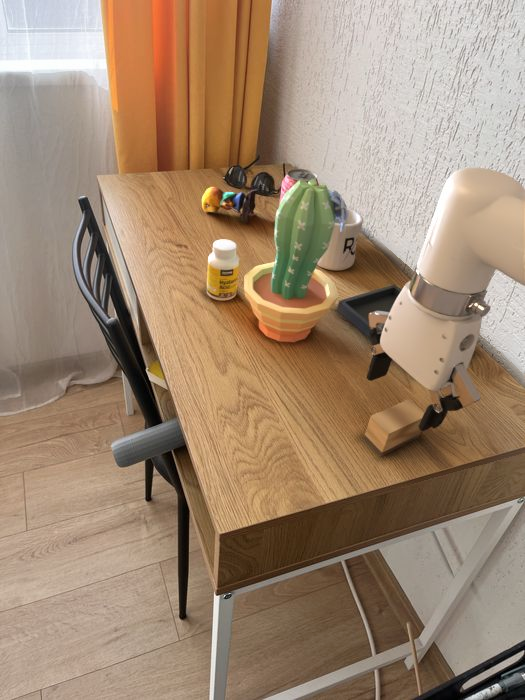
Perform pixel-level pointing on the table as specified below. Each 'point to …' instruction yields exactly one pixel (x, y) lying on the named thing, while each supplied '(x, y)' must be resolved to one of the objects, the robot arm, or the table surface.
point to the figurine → (229, 202)
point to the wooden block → (394, 427)
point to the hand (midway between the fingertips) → (401, 400)
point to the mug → (342, 243)
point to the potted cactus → (297, 264)
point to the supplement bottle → (222, 270)
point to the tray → (368, 306)
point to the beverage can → (296, 179)
